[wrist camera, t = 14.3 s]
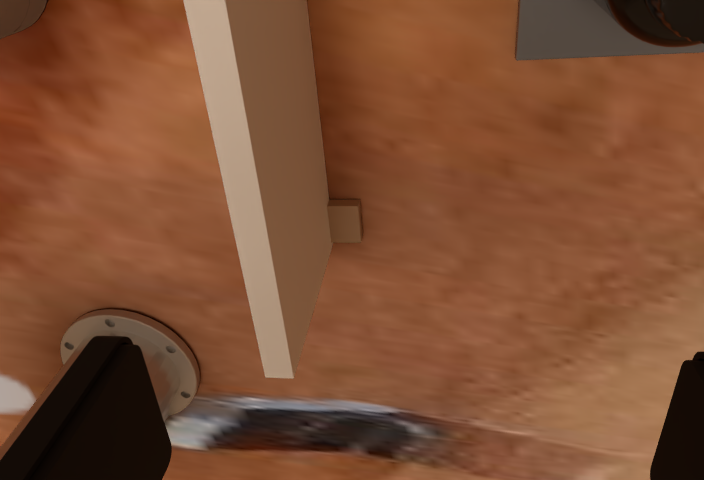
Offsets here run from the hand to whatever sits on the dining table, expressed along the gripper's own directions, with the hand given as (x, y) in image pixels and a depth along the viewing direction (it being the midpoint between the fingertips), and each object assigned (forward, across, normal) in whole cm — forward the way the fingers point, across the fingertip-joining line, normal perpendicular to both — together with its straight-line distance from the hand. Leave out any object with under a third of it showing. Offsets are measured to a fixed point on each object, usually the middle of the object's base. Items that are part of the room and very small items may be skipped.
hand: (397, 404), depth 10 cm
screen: (+29, +7, +3) cm, 30 cm away
